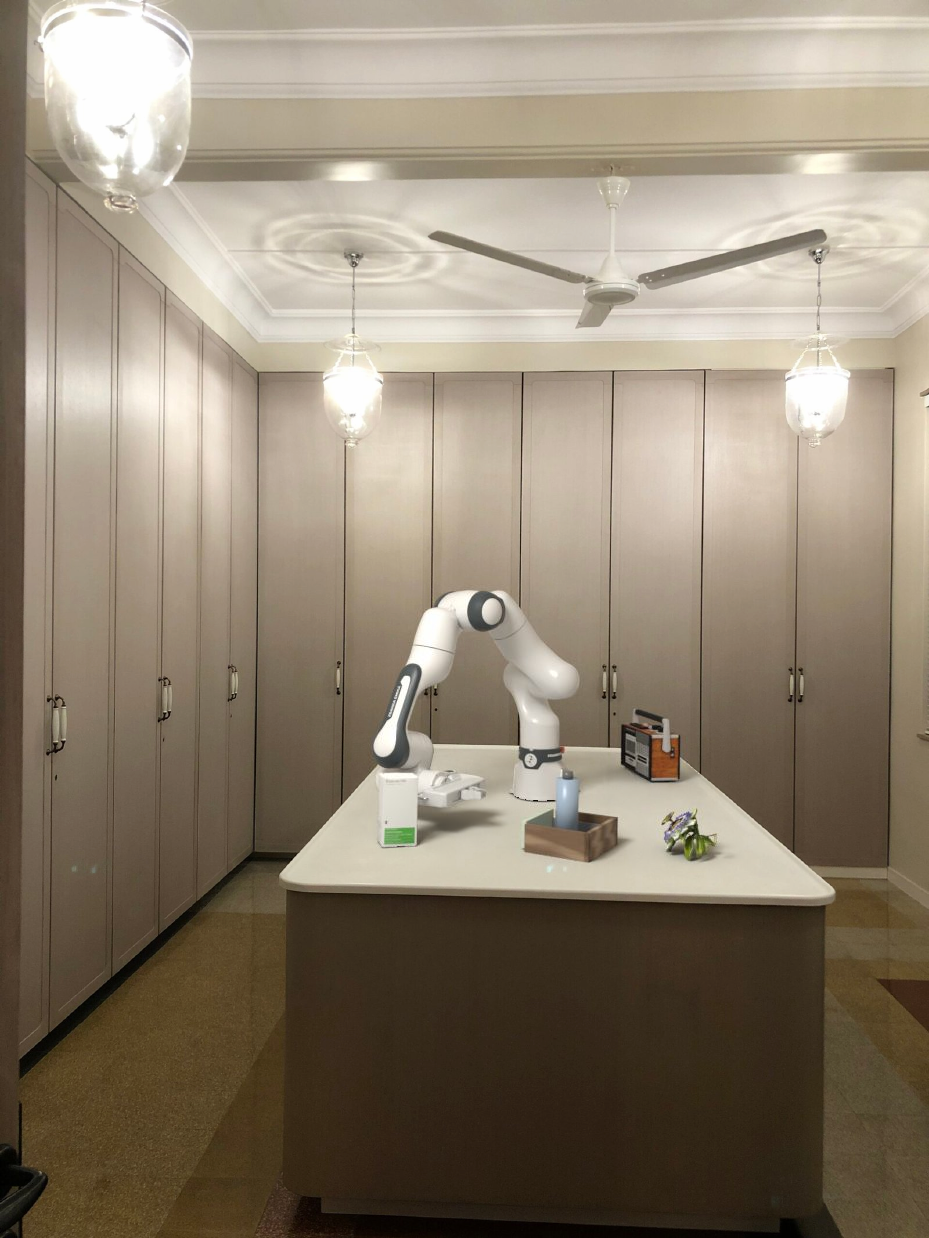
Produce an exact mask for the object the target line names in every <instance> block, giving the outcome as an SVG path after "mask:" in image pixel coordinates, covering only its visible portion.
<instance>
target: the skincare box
mask: <svg viewBox="0 0 929 1238" xmlns="http://www.w3.org/2000/svg"><path fill="white" fill-rule="evenodd" d="M377 796H378V799H377V801H378V802H377V804H378V805H377V827H376V828H377V829H376V831H377V832H376V835H377V837H376V838H377V839H376V840H377V843H379V845H380V847H381V848H397V846H405V847H414V846H413V845H417V844H418V840H417V839H418V777H417V776H416V775H415V774H413V773H379V792H378V795H377Z"/></svg>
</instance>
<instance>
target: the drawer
mask: <svg viewBox="0 0 929 1238" xmlns="http://www.w3.org/2000/svg"><path fill="white" fill-rule="evenodd" d="M554 810H555V809H554V808H552V807H549V808H546V809H544V810H542V811H539V812H537V813H535V814H532V815H531V816H529V817H527V818H525V819H522V820H521V824H520V825H521V829H520V831H521V833H520V836H521V837H520V840H521V841H520V848H521V849H524V834H525V824H526V823H527V824H534V825H541V826H547V827H554V828H556V818H555V817H554V816H555V815H554V813H555V811H554ZM598 825H600V824H595V823H588V822H581V821H578V831H581V832H588V831H589V830H591V829H593V828H595V827H596V826H598Z"/></svg>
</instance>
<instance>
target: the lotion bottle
mask: <svg viewBox="0 0 929 1238" xmlns="http://www.w3.org/2000/svg"><path fill="white" fill-rule="evenodd" d="M579 789H580V779H579V777H576V776H575V777H574V771H572V770H570V771H563V776H562V777H558V778H557V784H556V800H555V811H556V828H561V829H567V830H574V831H578V812H579V807H580V806H579V805H580V804H579V802H580V801H579V798H580V797H579V795H580V791H579Z"/></svg>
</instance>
